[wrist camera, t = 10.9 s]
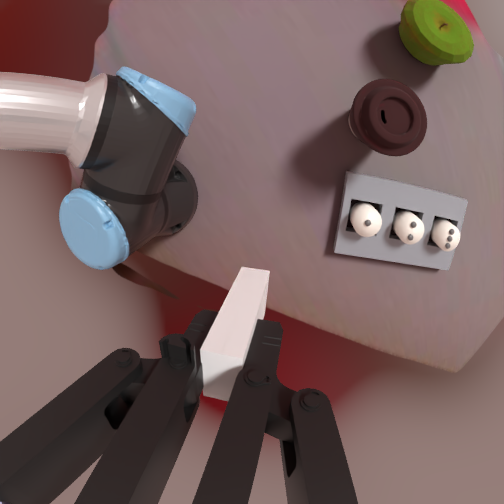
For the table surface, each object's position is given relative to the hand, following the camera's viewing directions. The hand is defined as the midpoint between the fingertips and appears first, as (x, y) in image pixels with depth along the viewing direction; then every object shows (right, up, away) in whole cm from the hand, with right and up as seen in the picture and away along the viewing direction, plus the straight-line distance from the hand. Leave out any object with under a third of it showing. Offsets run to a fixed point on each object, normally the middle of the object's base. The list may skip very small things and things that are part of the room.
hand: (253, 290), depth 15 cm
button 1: (+19, +8, +30) cm, 36 cm away
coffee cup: (+19, +24, +24) cm, 39 cm away
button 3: (+35, +6, +27) cm, 44 cm away
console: (+27, +8, +29) cm, 40 cm away
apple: (+30, +39, +15) cm, 52 cm away
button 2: (+27, +7, +29) cm, 40 cm away
